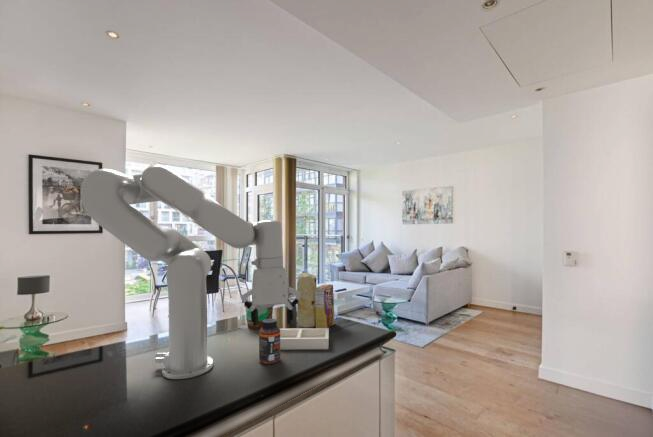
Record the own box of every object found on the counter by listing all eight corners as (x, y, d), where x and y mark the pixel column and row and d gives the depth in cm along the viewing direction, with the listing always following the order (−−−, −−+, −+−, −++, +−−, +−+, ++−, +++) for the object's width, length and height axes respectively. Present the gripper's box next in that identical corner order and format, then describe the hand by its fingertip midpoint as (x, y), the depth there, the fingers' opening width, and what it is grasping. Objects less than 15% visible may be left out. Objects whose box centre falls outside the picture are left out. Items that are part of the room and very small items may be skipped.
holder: (267, 349, 97) (267, 339, 97) (273, 338, 107) (273, 328, 107) (328, 349, 96) (328, 338, 96) (328, 337, 106) (328, 328, 106)
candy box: (324, 322, 123) (324, 283, 124) (334, 323, 121) (334, 284, 122) (314, 329, 115) (314, 287, 116) (325, 330, 113) (324, 288, 114)
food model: (321, 326, 118) (321, 273, 119) (308, 330, 114) (307, 275, 114) (305, 321, 125) (305, 271, 126) (292, 325, 121) (291, 273, 121)
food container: (237, 329, 117) (237, 302, 117) (246, 324, 122) (246, 298, 123) (267, 332, 113) (267, 304, 113) (274, 326, 119) (274, 300, 119)
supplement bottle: (277, 365, 85) (277, 323, 86) (256, 364, 86) (256, 323, 86) (282, 356, 91) (282, 317, 92) (262, 356, 92) (262, 317, 92)
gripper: (235, 266, 86) (238, 329, 85) (298, 263, 85) (301, 326, 85) (243, 263, 93) (246, 320, 93) (301, 260, 93) (304, 318, 93)
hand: (272, 323), depth 89 cm, fingers open, 9 cm apart
